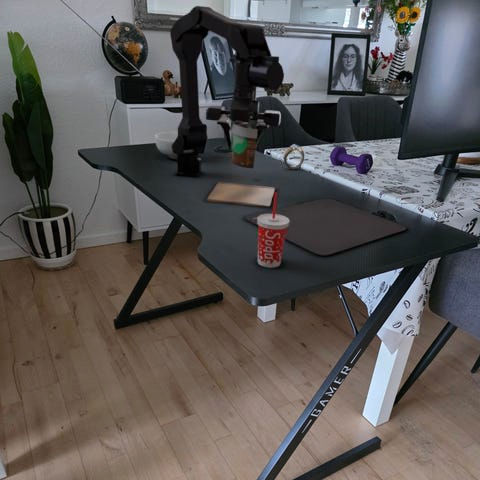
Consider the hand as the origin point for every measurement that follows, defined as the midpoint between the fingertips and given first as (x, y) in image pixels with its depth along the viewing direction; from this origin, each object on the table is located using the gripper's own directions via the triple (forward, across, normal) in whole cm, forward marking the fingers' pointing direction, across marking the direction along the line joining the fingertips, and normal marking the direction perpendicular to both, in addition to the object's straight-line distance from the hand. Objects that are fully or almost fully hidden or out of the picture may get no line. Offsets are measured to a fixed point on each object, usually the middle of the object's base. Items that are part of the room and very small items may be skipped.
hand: (241, 150), depth 119 cm
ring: (+12, +13, +34) cm, 39 cm away
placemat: (+12, +1, 0) cm, 12 cm away
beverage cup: (+12, +13, -42) cm, 45 cm away
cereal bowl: (+12, -27, +36) cm, 47 cm away
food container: (+3, 0, 0) cm, 3 cm away
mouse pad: (+12, +24, -16) cm, 31 cm away
